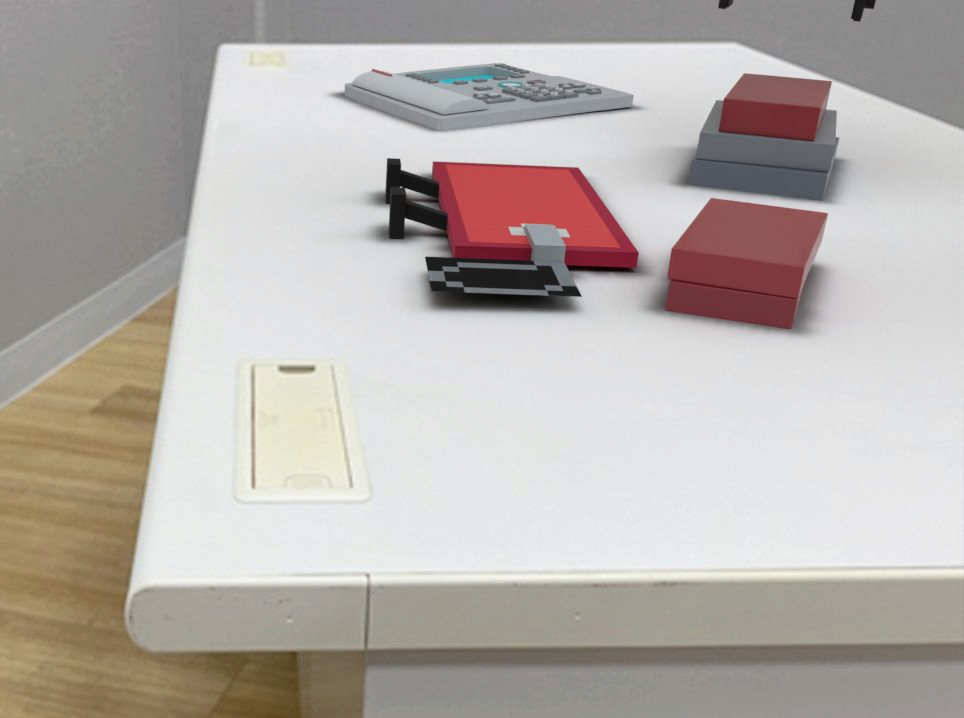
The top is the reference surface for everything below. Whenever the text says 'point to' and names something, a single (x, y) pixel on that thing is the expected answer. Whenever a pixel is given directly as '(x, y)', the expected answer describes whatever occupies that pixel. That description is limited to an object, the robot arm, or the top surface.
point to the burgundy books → (744, 262)
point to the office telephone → (480, 95)
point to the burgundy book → (775, 107)
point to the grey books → (764, 160)
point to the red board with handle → (509, 226)
